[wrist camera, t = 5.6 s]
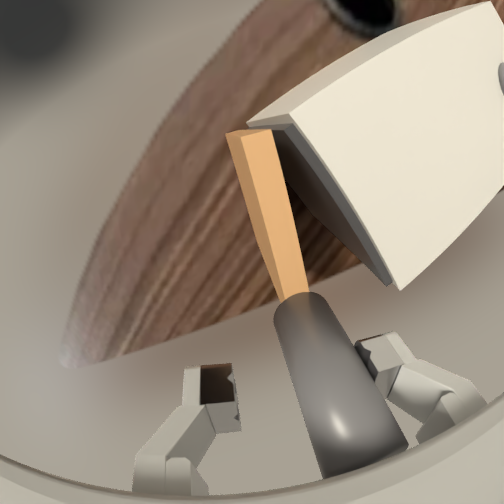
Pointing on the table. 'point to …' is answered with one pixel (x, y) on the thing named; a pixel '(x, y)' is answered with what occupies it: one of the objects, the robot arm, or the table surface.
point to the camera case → (399, 139)
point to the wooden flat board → (312, 327)
